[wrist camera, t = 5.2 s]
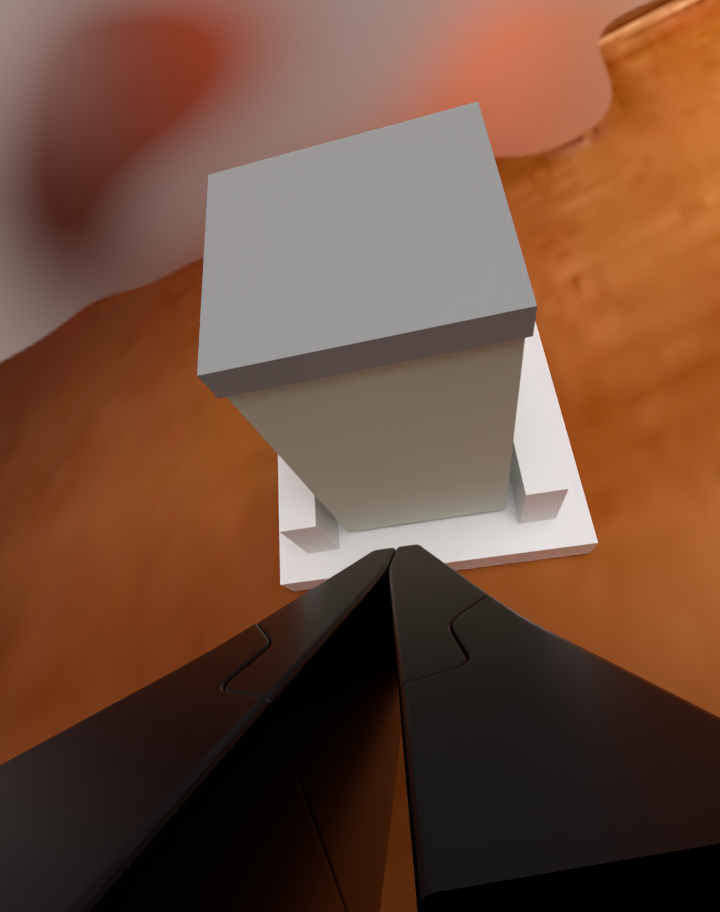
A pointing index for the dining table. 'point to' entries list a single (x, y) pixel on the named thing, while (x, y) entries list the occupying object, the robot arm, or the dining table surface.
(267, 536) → the dining table surface
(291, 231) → the grey upright block
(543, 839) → the robot arm
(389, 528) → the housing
